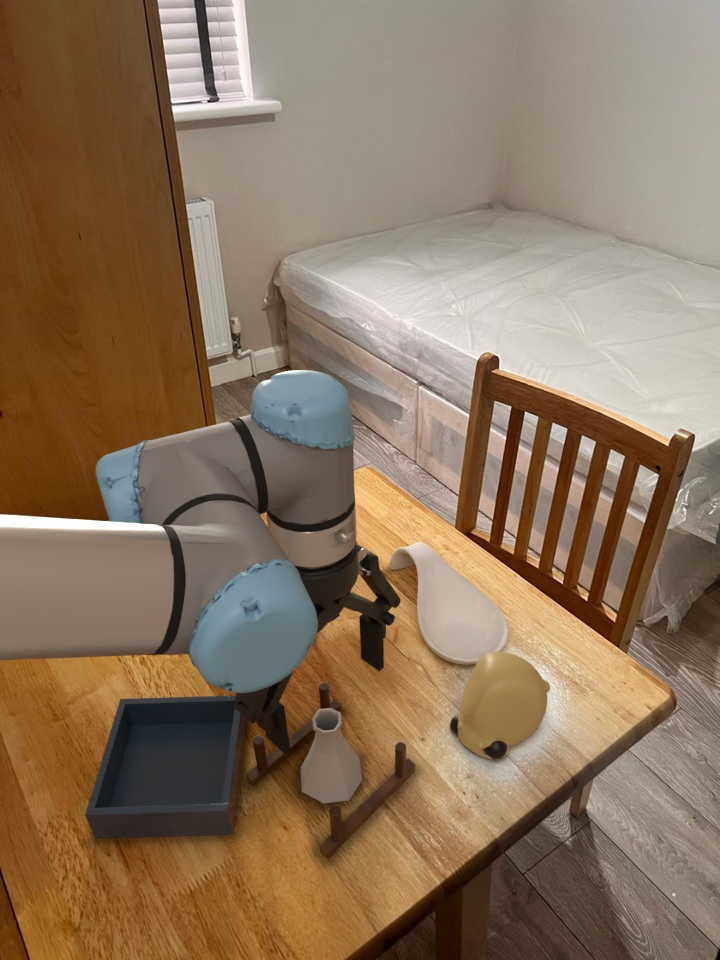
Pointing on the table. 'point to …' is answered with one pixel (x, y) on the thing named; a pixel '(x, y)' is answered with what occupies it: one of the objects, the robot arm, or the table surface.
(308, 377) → the robot arm
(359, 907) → the table surface
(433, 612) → the spoon rest
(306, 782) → the flask
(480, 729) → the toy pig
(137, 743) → the basin
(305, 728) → the drying rack
